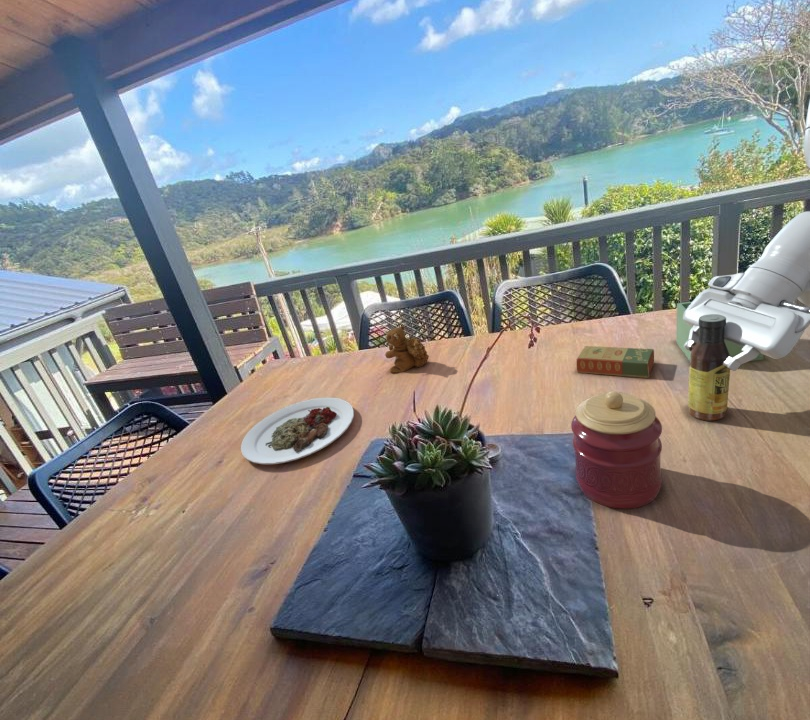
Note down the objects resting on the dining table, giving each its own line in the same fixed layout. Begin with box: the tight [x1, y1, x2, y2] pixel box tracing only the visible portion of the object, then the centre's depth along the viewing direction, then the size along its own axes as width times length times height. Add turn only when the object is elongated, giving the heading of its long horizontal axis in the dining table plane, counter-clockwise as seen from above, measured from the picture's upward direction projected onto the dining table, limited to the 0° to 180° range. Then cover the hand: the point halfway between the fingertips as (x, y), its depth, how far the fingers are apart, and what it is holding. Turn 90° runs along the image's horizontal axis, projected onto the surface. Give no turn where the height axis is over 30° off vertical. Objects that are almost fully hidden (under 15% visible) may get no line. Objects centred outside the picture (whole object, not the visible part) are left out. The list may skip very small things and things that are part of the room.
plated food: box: [240, 397, 355, 465], centre depth 114 cm, size 30×30×3 cm
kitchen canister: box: [570, 390, 663, 510], centre depth 70 cm, size 13×13×18 cm
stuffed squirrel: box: [384, 325, 430, 374], centre depth 135 cm, size 10×14×13 cm
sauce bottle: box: [687, 314, 731, 422], centre depth 81 cm, size 7×6×20 cm
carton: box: [576, 345, 655, 379], centre depth 107 cm, size 8×16×4 cm, turn 55°
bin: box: [675, 301, 765, 363], centre depth 103 cm, size 14×14×11 cm
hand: (707, 358), depth 80 cm, fingers open, 8 cm apart
